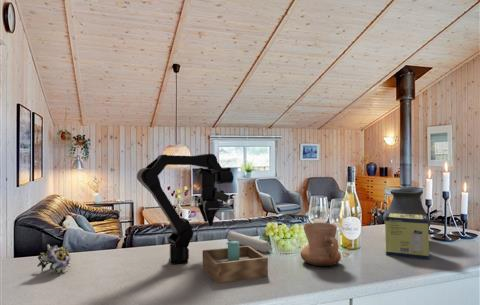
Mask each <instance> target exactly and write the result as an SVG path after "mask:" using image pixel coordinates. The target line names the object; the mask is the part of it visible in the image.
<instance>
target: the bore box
mask: <svg viewBox="0 0 480 305" xmlns="http://www.w3.org/2000/svg"><path fill="white" fill-rule="evenodd" d="M268 259H269V258H268V257H267V256H266V255H264V254H262V252H260V251H257V250H255V249H253V248H252V247H250V246H242V245H240V246H239V260H237V261H228V247H223V248H213V249H203V250H202V269H203V270H204V271H205V272H206V273H207V275H209V277H210V278H211V279H212V281H213V282H214V283H215V284H219V283H220V284H221V283H227V282H228V281H229V282H235V281H242V280H248V279H257V278H263V277H268V276H269V263H268V262H269V260H268Z"/></svg>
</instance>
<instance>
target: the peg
mask: <svg viewBox="0 0 480 305" xmlns="http://www.w3.org/2000/svg"><path fill="white" fill-rule="evenodd" d="M239 247H240V245H239V242H238V241H228V242H227V248H228V261H237V260H239Z"/></svg>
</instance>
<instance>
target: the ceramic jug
mask: <svg viewBox="0 0 480 305" xmlns="http://www.w3.org/2000/svg"><path fill="white" fill-rule="evenodd" d="M337 230H338V226H337V224H335V223H329V222H321V221H320V222H319V221H317V222H315V221H314V222H306V223H304V224H303V231H304V234H305V237H306V240H307V242H308V245H306V246H304V248H302V250H301V251H300V256H301V259H302V260H303V261H304V262H306V263H308V264H310V265H313V266H319V267H329V266H333V265H335V264H339V262H340V261H341V258H342V255H341V253H340V251H339V243H338V240H337V238H336V235H337Z"/></svg>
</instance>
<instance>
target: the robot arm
mask: <svg viewBox="0 0 480 305" xmlns="http://www.w3.org/2000/svg"><path fill="white" fill-rule="evenodd" d="M169 165H171V166H172V165H173V166H174V165H175V166H176V165H177V166H194V167H198V169H197V171H195V174H198V175H200V187H199V190H200V196H198V197H197V198H196V204H197V207H198V209H199V211H200V214H201V217H202V219H203V221H204V223H208V225H209V226H210V227H212V226H213V224H214V220H215V216H216V213H217V212H218V211H220V210H221V208H222V203H221V202H224V203H228V201H229V198H230V194H226V193H225V191H224V190H222V189H219V190H218V188H217V187H216V184H217V185H231V184H232V183H233V181H234V174H233V172H232V169H231V167H222V166H221V164H220V163H219V162H218V157H217V156H216V155H215V154H213V153H200V154H197V155H168V154H160V155H158V156H157V157H156V158H155V159H154V160H152V161H151V162H150V163H149V164H148V165H146V167H143V168H141V169H139V170H138V171H137V173H136V179H137V181H138V182H139V183H140V184H141V185H142V187H144V188H145V189H146V190H147V191H148V192H149V193H150V194H151V195H152V197H153V199H154V200H155V201H156V203H157V205H158V206H159V208H160V209H161V211H162V213H163V214H164V216H165V217H166V219H167V220H168V222H169V225H170V228H171V231H172V233H171V234H170V235H169V236H168V237H167V241H168V244H169V258H168V261H169V263H170V265H176V264H185V263H186V264H187V263H189V259H190V258H189V256H190V254H189V253H190V249H189V248H188V247H189V245H190V242H191V240H192V238H193V236H194V231H193V230H194V226H192V225H191V223H190V221H189V220H188V219H187V218H184V217H180V214H179V213H178V212H177V209H175V207H174V205H173V204H172V202H171V201H170V199H169V198H168V196H167V195H166V193H165V192H164V190H163V188H162V186H161V180H160V177H159V175H160V174H161V173H162V172H163V170H164V169H165V168H166V167H167V166H169ZM220 201H221V202H220Z"/></svg>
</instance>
